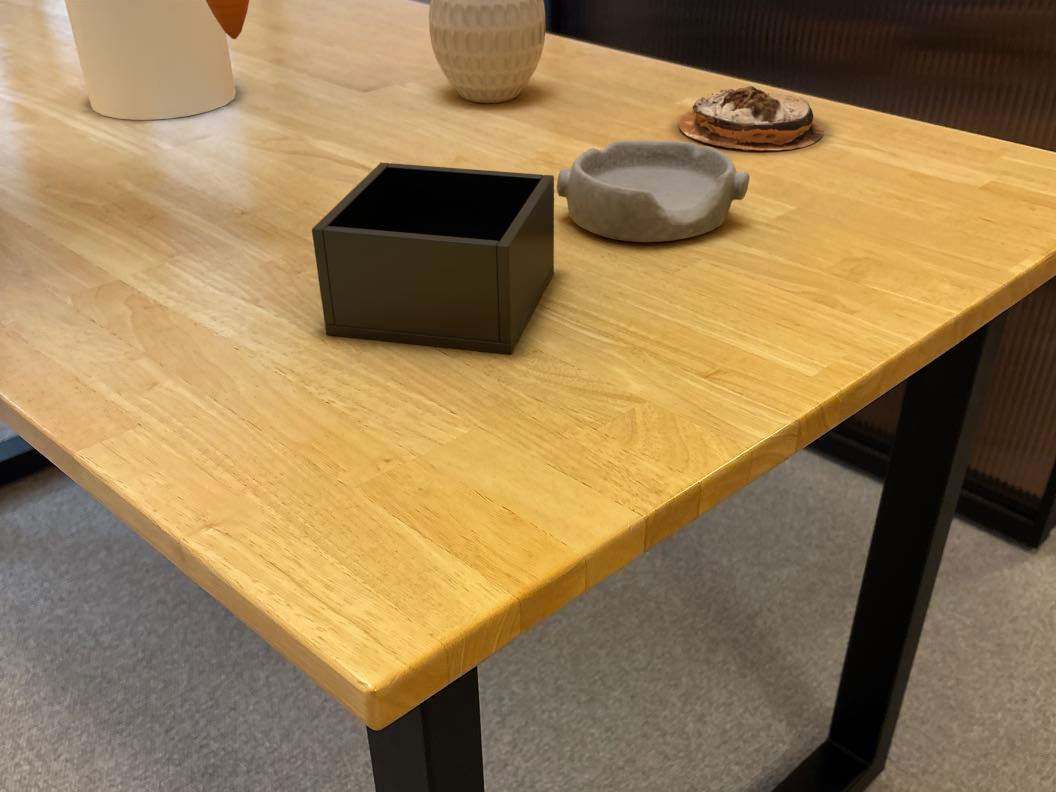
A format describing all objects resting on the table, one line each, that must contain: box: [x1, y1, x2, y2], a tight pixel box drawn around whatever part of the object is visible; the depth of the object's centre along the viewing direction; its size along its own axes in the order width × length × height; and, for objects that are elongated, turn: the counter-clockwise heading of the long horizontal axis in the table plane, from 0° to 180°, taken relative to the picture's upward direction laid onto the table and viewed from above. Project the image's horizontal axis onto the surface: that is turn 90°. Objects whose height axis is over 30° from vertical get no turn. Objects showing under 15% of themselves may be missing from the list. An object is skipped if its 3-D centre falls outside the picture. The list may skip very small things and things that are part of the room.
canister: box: [64, 0, 237, 121], centre depth 117 cm, size 16×16×20 cm
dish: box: [556, 140, 750, 243], centre depth 93 cm, size 14×14×5 cm
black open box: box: [311, 162, 555, 355], centre depth 78 cm, size 14×14×8 cm
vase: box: [428, 0, 547, 104], centre depth 119 cm, size 13×13×17 cm
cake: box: [678, 85, 825, 152], centre depth 112 cm, size 15×15×4 cm
